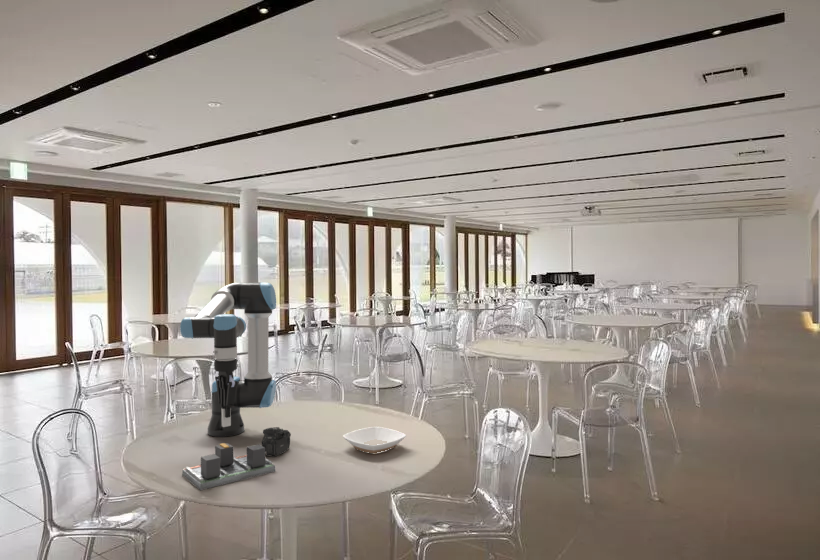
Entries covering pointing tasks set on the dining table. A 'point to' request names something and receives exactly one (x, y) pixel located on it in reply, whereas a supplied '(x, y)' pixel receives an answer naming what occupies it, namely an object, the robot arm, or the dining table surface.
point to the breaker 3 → (255, 455)
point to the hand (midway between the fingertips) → (226, 425)
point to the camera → (275, 441)
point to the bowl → (372, 433)
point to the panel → (227, 473)
